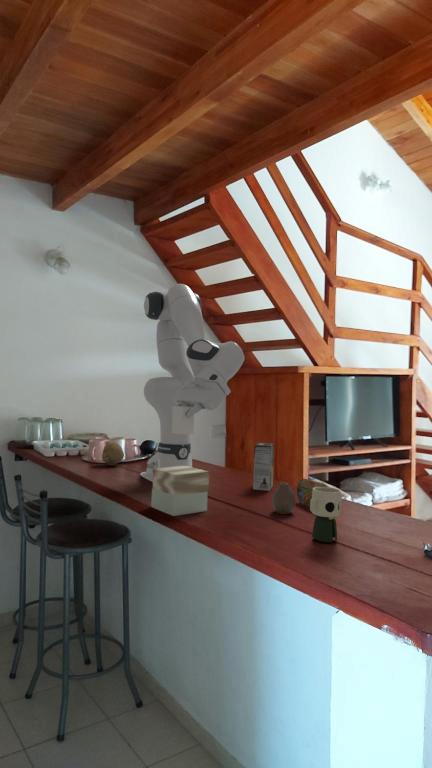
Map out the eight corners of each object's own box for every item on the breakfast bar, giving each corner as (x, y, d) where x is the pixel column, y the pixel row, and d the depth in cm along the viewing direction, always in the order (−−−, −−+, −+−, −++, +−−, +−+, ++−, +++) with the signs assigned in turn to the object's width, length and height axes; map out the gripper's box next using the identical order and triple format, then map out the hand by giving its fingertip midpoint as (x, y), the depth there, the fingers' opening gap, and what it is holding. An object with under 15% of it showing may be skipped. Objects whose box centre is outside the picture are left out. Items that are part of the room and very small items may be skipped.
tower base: (151, 508, 168) (152, 488, 168) (183, 503, 176) (184, 484, 176) (173, 517, 159) (174, 496, 159) (206, 511, 166) (207, 491, 166)
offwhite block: (171, 432, 168) (172, 406, 168) (184, 432, 171) (184, 406, 171) (180, 434, 164) (181, 407, 164) (193, 433, 167) (194, 407, 167)
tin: (295, 501, 184) (296, 476, 183) (303, 501, 185) (304, 475, 185) (322, 512, 170) (323, 485, 170) (330, 512, 171) (332, 484, 171)
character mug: (319, 547, 135) (322, 494, 134) (298, 539, 140) (301, 488, 140) (349, 541, 141) (352, 490, 141) (328, 534, 147) (331, 485, 146)
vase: (296, 511, 170) (298, 482, 170) (292, 516, 164) (293, 486, 163) (274, 508, 172) (275, 480, 172) (269, 513, 166) (270, 484, 166)
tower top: (152, 488, 168) (153, 468, 168) (184, 484, 176) (185, 465, 176) (175, 496, 159) (176, 475, 159) (208, 491, 167) (209, 471, 166)
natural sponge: (127, 465, 240) (128, 442, 240) (117, 468, 231) (118, 444, 231) (108, 463, 243) (109, 440, 242) (98, 466, 234) (98, 442, 234)
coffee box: (255, 484, 208) (257, 442, 208) (272, 486, 207) (274, 443, 207) (252, 489, 199) (254, 444, 199) (270, 491, 198) (272, 446, 198)
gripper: (184, 375, 180) (157, 405, 174) (223, 377, 163) (195, 410, 158) (195, 389, 182) (168, 419, 177) (234, 392, 166) (207, 425, 160)
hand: (181, 415), depth 167 cm, fingers closed on offwhite block, 5 cm apart
